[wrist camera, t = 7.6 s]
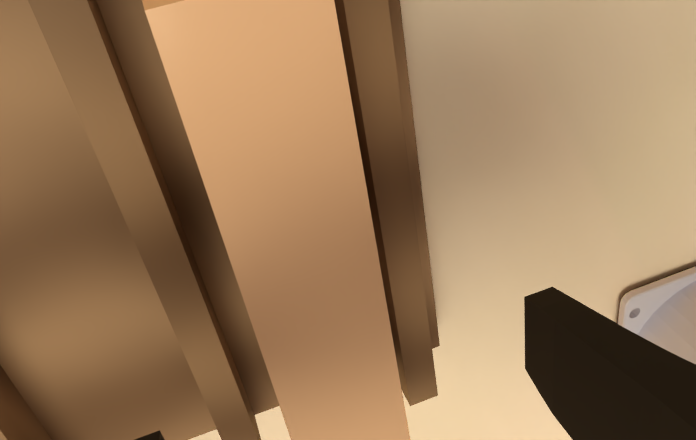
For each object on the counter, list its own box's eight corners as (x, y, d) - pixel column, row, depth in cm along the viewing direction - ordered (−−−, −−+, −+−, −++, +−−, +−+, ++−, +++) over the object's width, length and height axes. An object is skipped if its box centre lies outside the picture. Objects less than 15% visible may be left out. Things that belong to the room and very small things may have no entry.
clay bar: (358, 353, 23) (415, 470, 19) (275, 383, 22) (316, 511, 18) (263, -79, 15) (328, -37, 11) (130, -48, 14) (144, 10, 10)
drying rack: (426, 324, 25) (464, 384, 22) (20, 473, 22) (10, 560, 20) (363, -155, 16) (417, -149, 13) (-339, 2, 13) (-446, 50, 10)
